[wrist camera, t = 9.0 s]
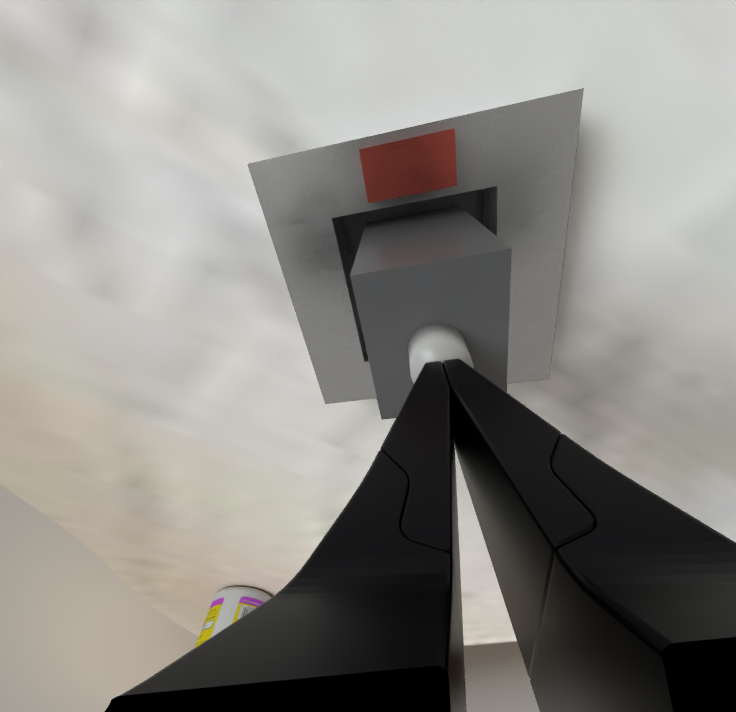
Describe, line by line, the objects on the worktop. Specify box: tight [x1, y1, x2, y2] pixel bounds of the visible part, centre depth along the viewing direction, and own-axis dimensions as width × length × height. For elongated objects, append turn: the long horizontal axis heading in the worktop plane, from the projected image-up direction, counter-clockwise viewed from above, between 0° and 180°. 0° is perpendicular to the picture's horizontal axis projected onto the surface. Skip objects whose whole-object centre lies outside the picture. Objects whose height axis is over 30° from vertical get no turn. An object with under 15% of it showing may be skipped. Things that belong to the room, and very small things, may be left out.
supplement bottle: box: [195, 587, 272, 648], centre depth 30 cm, size 7×7×13 cm
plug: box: [350, 206, 512, 419], centre depth 12 cm, size 4×5×8 cm
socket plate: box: [248, 88, 584, 404], centre depth 14 cm, size 11×11×3 cm
